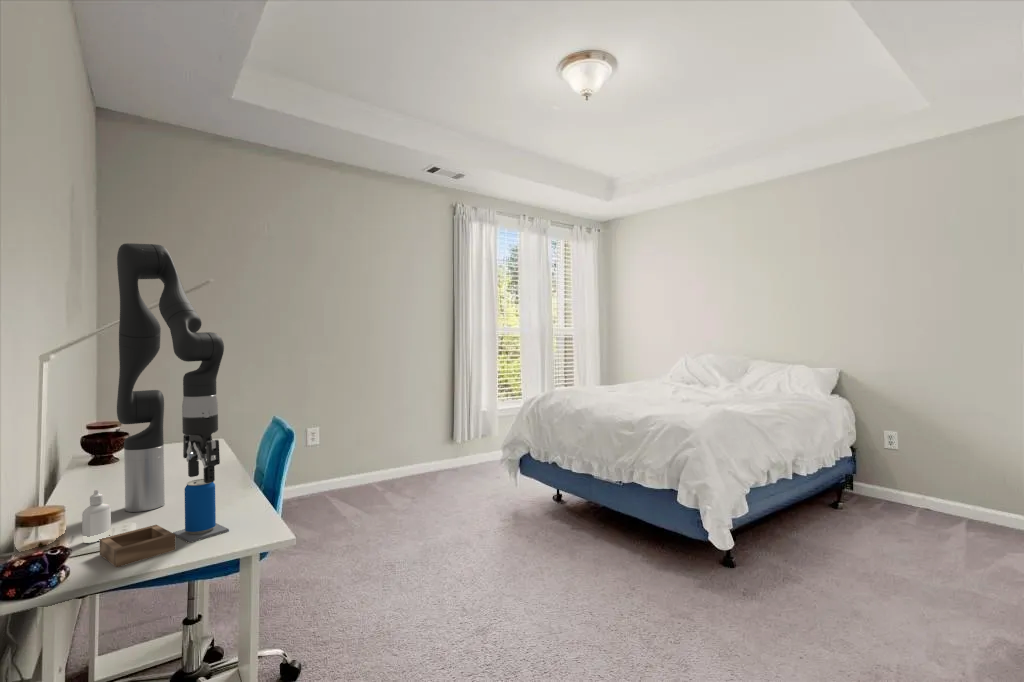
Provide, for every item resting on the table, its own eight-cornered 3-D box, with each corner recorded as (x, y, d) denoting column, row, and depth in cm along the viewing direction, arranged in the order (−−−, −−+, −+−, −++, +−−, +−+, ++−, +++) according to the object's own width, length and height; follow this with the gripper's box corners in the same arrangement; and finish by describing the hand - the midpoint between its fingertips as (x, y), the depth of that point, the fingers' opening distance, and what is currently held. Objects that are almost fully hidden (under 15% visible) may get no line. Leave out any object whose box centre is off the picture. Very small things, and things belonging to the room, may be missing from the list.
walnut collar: (99, 554, 115) (99, 539, 115) (156, 539, 124) (156, 524, 124) (116, 567, 109) (116, 550, 109) (175, 549, 118) (175, 534, 118)
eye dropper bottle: (113, 538, 125) (113, 488, 125) (84, 545, 121) (83, 494, 121) (109, 534, 128) (108, 485, 128) (80, 541, 124) (79, 490, 124)
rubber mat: (173, 534, 127) (173, 532, 127) (212, 523, 134) (212, 521, 134) (188, 542, 122) (188, 540, 122) (228, 531, 129) (228, 528, 129)
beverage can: (209, 523, 133) (209, 476, 132) (220, 529, 128) (219, 480, 128) (180, 531, 128) (180, 482, 127) (190, 537, 123) (190, 486, 123)
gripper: (171, 412, 129) (172, 478, 129) (196, 418, 121) (197, 488, 121) (203, 409, 135) (204, 471, 135) (230, 414, 127) (230, 480, 127)
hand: (201, 479), depth 128 cm, fingers open, 8 cm apart
